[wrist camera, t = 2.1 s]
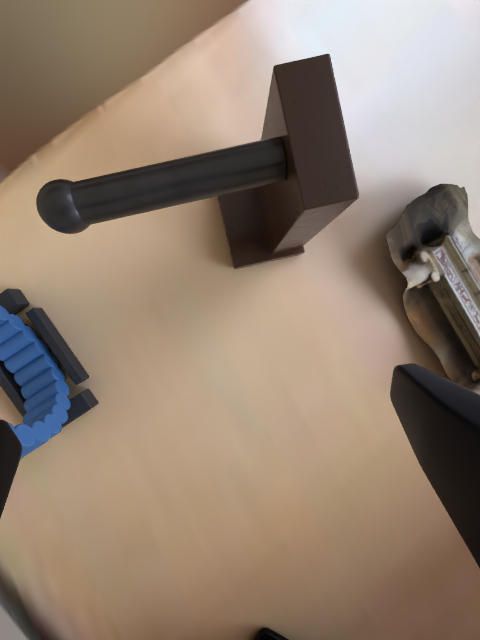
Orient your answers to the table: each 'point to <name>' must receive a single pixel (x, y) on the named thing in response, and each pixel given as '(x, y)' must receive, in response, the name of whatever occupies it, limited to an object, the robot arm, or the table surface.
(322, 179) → the hook stand
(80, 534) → the table surface
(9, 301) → the tape cradle
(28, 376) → the blue ridged ring
